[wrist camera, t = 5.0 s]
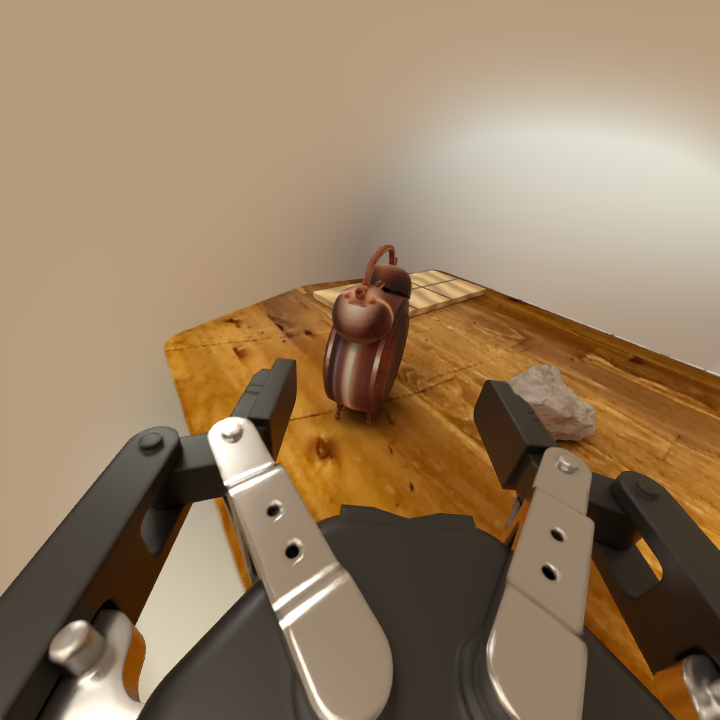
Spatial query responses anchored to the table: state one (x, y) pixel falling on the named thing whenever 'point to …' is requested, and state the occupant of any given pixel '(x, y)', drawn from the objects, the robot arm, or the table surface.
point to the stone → (555, 403)
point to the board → (421, 292)
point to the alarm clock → (368, 337)
